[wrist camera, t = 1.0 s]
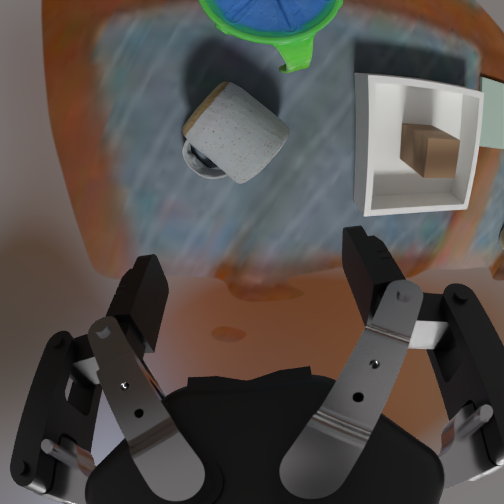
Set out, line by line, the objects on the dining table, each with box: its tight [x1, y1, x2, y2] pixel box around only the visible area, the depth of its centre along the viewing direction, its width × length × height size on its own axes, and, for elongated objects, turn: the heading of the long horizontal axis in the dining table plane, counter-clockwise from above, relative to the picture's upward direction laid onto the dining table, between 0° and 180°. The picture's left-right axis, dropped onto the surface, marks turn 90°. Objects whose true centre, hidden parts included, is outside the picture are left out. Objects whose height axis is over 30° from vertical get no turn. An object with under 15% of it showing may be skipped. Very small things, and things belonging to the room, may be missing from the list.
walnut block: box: [400, 123, 460, 178], centre depth 28 cm, size 4×4×6 cm
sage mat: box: [479, 77, 504, 149], centre depth 27 cm, size 10×10×1 cm
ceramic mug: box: [182, 81, 290, 184], centre depth 28 cm, size 11×8×8 cm
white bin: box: [353, 72, 484, 216], centre depth 29 cm, size 16×16×4 cm
